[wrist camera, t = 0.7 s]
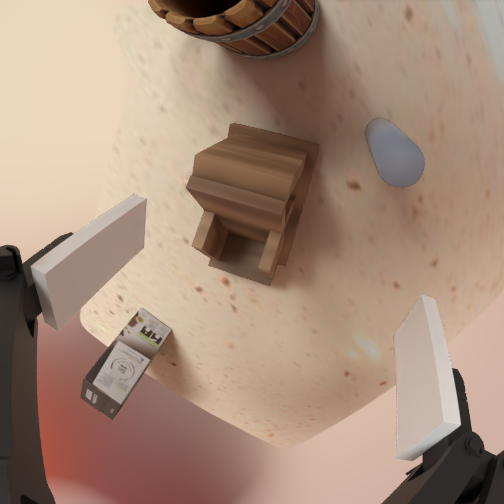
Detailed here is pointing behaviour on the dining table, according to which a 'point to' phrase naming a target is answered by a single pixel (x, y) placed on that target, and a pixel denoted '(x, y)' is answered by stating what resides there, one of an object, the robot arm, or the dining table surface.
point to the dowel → (394, 153)
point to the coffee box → (123, 363)
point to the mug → (244, 23)
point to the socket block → (251, 199)
